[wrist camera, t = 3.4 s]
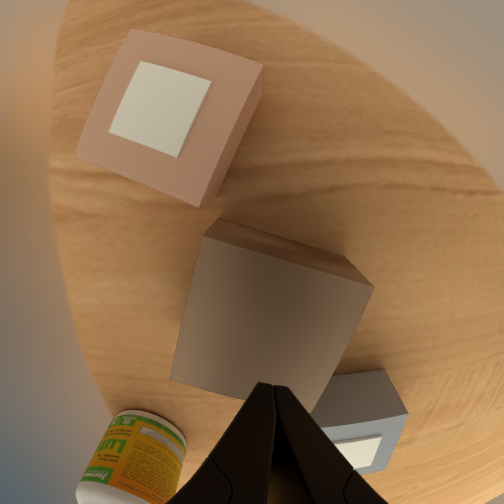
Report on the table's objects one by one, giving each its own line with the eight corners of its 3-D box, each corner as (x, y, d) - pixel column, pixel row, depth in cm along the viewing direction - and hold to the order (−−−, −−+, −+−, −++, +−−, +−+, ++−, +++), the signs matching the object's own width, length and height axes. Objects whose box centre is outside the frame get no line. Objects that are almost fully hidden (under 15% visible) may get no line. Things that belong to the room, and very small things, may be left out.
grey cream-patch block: (383, 368, 15) (410, 416, 11) (368, 425, 17) (385, 472, 12) (297, 376, 15) (306, 432, 11) (294, 434, 17) (299, 485, 13)
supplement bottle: (135, 395, 16) (74, 522, 7) (203, 440, 17) (178, 567, 8) (102, 425, 17) (49, 525, 8) (161, 464, 18) (130, 566, 9)
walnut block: (344, 256, 14) (374, 286, 10) (300, 361, 15) (310, 412, 11) (219, 217, 13) (202, 236, 10) (189, 331, 15) (169, 379, 11)
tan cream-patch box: (262, 95, 12) (263, 62, 8) (216, 197, 13) (197, 208, 9) (163, 61, 12) (128, 26, 8) (120, 158, 13) (70, 156, 9)
